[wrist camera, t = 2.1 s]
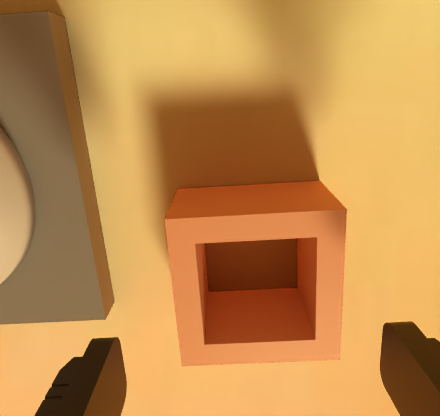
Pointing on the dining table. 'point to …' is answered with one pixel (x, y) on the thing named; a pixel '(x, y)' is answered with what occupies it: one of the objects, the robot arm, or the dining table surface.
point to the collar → (261, 298)
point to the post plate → (46, 182)
